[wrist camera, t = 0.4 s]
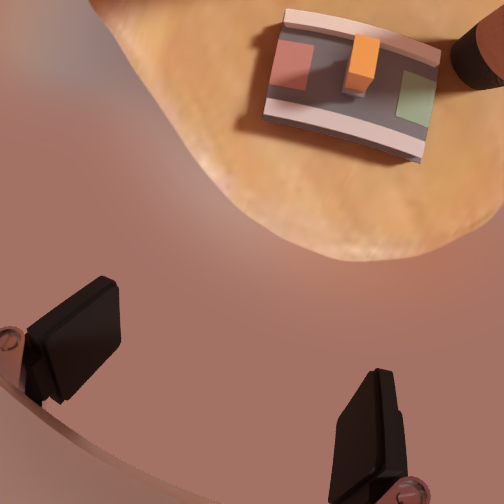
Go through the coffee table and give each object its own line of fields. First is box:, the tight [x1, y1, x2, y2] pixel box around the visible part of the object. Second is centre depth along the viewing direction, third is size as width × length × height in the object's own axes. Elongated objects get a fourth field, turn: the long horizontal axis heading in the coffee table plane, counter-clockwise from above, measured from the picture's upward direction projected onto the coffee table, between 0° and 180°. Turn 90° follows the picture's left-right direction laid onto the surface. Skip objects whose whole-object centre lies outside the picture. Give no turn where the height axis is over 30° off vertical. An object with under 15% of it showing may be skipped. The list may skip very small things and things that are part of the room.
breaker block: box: [262, 8, 441, 164], centre depth 28 cm, size 14×18×5 cm
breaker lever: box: [342, 33, 380, 99], centre depth 22 cm, size 4×2×9 cm, turn 169°
